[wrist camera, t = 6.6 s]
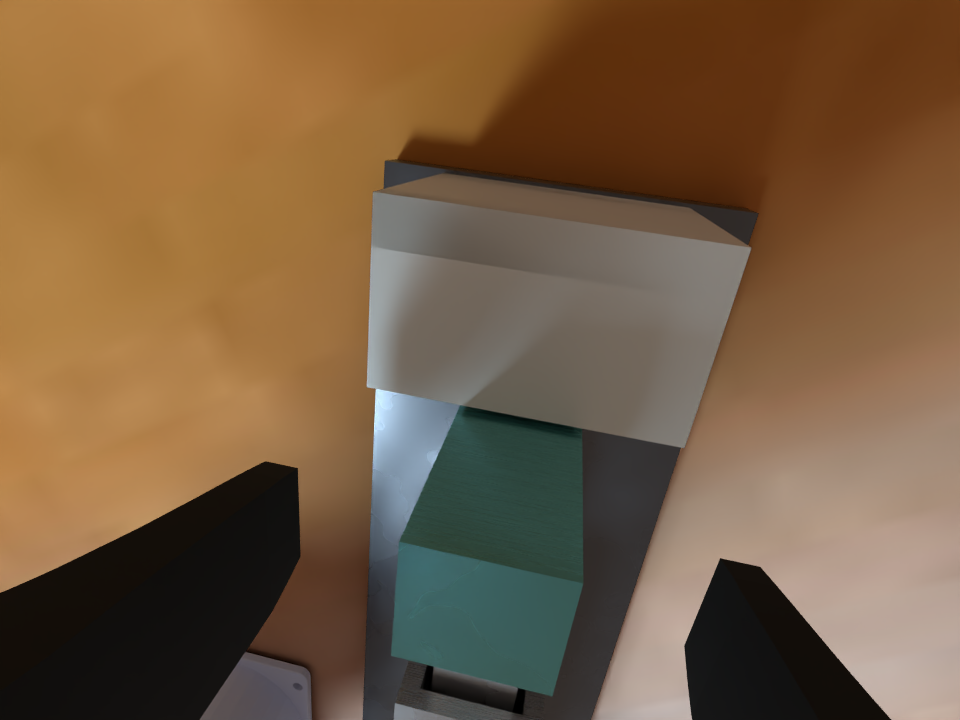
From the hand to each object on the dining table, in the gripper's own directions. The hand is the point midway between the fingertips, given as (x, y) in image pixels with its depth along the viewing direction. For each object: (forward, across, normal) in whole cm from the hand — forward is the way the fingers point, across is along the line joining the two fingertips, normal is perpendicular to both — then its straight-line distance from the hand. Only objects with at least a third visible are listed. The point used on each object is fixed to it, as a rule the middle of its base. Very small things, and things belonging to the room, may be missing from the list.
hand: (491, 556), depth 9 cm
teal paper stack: (+6, 0, +4) cm, 7 cm away
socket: (+9, 0, -3) cm, 10 cm away
